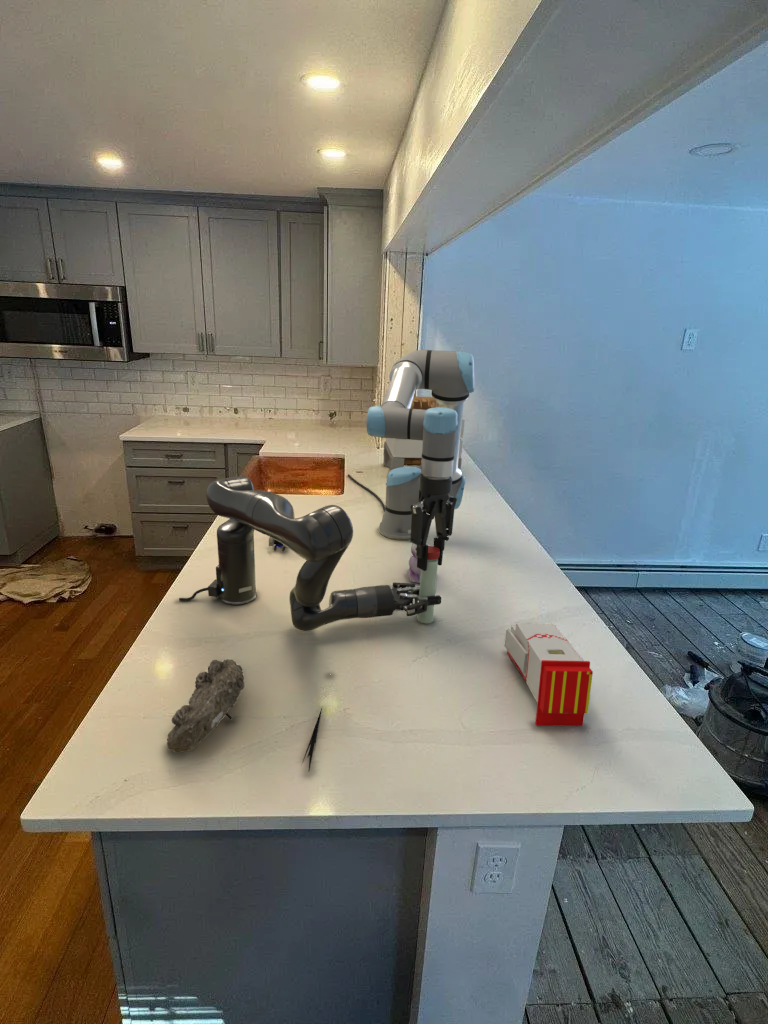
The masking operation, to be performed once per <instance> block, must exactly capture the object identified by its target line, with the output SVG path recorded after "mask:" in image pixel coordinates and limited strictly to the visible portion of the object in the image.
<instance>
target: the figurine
mask: <svg viewBox="0 0 768 1024" xmlns="http://www.w3.org/2000/svg"><path fill="white" fill-rule="evenodd" d="M426 545H428V546H430V545H429V543H428V541H427V542H426ZM416 551H417V545H416V544H413V543H412V545H411V547H410V552H411V556H410V558H409V560H408V566H409V567H408V571H407V577H408V578H409V581H410V582H411V583H417V584H420V576H421V569H419V568H417V556H416Z"/></svg>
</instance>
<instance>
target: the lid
mask: <svg viewBox="0 0 768 1024" xmlns="http://www.w3.org/2000/svg"><path fill="white" fill-rule="evenodd" d="M439 557H440V549H439V548H437V547H434V546H433V545H429V546H428V559H427V560H436V559H438V558H439Z"/></svg>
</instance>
